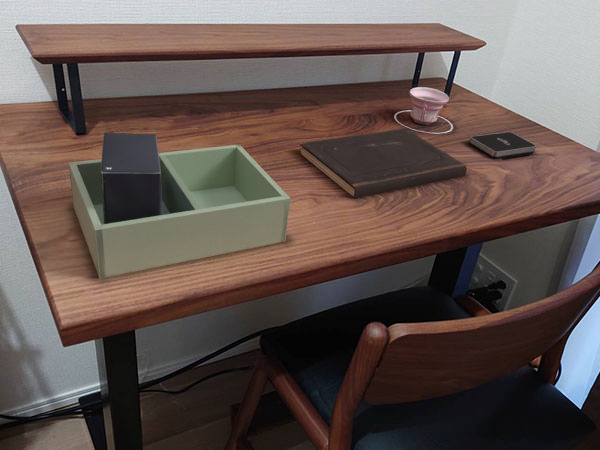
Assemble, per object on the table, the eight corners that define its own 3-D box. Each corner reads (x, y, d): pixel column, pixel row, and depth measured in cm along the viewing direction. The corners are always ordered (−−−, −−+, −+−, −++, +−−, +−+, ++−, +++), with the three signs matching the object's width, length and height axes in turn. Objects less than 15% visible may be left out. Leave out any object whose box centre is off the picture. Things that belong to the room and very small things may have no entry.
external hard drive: (534, 155, 104) (537, 146, 103) (491, 162, 99) (495, 152, 98) (507, 140, 109) (510, 131, 108) (465, 146, 104) (468, 136, 103)
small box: (164, 253, 64) (163, 172, 58) (104, 256, 62) (97, 173, 56) (159, 206, 72) (158, 131, 67) (106, 207, 70) (100, 131, 65)
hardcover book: (298, 155, 92) (299, 143, 91) (403, 140, 103) (405, 128, 102) (353, 202, 81) (356, 188, 80) (464, 178, 92) (468, 166, 91)
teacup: (398, 108, 118) (404, 80, 115) (454, 121, 116) (462, 92, 112) (388, 127, 108) (395, 96, 105) (450, 141, 106) (458, 110, 102)
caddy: (99, 282, 59) (94, 229, 56) (73, 210, 71) (68, 162, 67) (284, 244, 70) (290, 198, 66) (236, 186, 81) (239, 144, 77)
